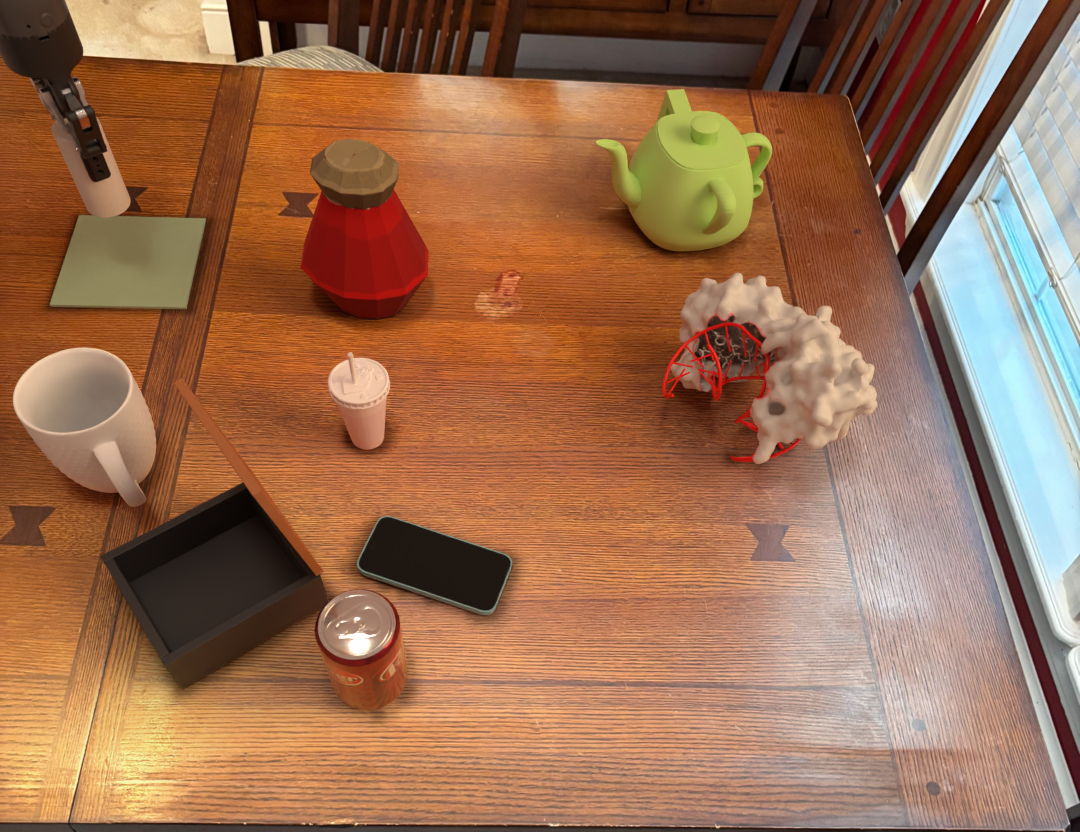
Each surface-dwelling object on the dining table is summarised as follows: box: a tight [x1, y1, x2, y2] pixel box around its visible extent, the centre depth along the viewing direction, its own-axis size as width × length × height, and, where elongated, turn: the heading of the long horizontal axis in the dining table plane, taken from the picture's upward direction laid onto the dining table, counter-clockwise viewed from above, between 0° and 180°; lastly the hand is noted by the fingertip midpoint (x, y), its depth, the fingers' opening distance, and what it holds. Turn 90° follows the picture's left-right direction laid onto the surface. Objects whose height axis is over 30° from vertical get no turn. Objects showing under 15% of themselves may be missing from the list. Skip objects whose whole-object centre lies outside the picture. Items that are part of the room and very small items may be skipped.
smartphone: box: [356, 515, 513, 616], centre depth 93 cm, size 7×1×15 cm
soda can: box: [314, 588, 409, 711], centre depth 82 cm, size 7×7×12 cm
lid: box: [173, 377, 324, 576], centre depth 80 cm, size 17×14×1 cm
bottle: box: [300, 138, 430, 321], centre depth 104 cm, size 16×14×20 cm
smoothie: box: [327, 351, 391, 451], centre depth 95 cm, size 6×6×14 cm
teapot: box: [595, 88, 773, 252], centre depth 117 cm, size 19×20×14 cm
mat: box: [48, 214, 207, 311], centre depth 113 cm, size 16×16×1 cm
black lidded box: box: [100, 482, 329, 691], centre depth 88 cm, size 16×14×6 cm
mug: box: [12, 347, 157, 508], centre depth 91 cm, size 15×11×13 cm
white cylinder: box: [50, 116, 132, 218], centre depth 101 cm, size 5×5×10 cm
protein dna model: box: [661, 272, 878, 465], centre depth 100 cm, size 20×18×25 cm
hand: (90, 163), depth 101 cm, fingers closed on white cylinder, 5 cm apart
